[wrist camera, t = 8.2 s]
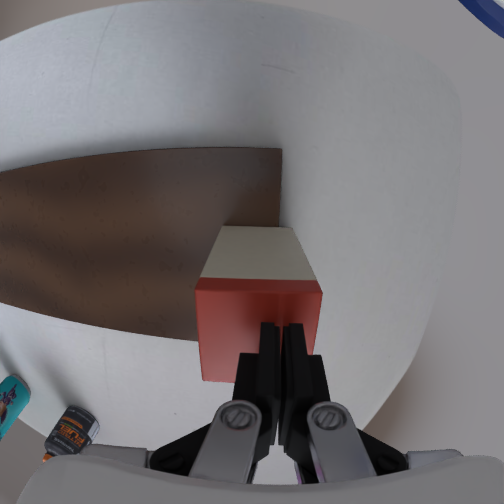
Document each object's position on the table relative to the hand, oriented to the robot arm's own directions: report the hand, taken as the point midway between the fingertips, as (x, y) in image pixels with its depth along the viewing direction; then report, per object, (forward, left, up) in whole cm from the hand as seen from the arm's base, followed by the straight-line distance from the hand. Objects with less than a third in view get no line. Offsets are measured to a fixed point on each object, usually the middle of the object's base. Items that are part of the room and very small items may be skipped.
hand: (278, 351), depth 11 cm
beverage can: (+26, -41, -12) cm, 50 cm away
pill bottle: (+28, -27, -12) cm, 41 cm away
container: (0, +1, -6) cm, 6 cm away
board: (0, -19, -12) cm, 23 cm away
